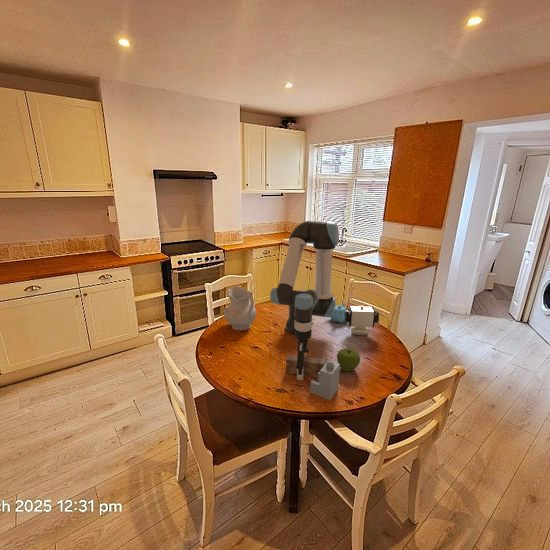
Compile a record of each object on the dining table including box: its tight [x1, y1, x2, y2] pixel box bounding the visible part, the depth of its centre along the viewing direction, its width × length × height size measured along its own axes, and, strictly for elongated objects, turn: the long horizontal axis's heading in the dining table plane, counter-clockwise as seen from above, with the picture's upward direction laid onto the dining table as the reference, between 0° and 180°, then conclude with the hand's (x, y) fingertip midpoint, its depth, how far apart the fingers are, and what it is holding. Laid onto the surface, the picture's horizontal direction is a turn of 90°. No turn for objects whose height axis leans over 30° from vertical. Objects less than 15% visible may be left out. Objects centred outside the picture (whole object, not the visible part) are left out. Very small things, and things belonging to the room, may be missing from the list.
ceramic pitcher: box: [223, 285, 257, 331], centre depth 178 cm, size 22×20×25 cm
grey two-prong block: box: [309, 359, 341, 401], centre depth 123 cm, size 9×8×14 cm
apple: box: [336, 347, 361, 372], centre depth 138 cm, size 11×10×10 cm
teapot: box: [330, 301, 347, 324], centre depth 188 cm, size 13×13×10 cm
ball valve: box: [344, 305, 380, 336], centre depth 170 cm, size 18×8×18 cm, turn 84°
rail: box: [285, 354, 328, 378], centre depth 136 cm, size 18×4×7 cm, turn 77°
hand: (301, 372), depth 137 cm, fingers open, 11 cm apart
